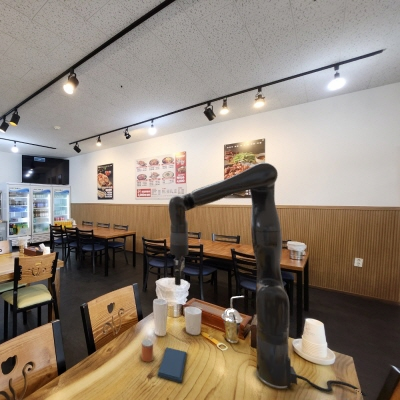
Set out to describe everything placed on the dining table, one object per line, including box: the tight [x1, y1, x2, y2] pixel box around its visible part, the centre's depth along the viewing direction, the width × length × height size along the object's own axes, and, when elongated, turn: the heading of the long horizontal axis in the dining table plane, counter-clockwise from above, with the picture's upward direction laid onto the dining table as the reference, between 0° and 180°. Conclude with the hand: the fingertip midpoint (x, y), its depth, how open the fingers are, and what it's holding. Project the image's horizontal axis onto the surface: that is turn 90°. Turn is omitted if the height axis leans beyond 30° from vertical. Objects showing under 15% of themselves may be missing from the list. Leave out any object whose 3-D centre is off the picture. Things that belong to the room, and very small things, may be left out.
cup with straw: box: [221, 295, 245, 344], centre depth 102 cm, size 8×9×20 cm
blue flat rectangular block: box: [157, 347, 187, 384], centre depth 86 cm, size 8×16×1 cm, turn 158°
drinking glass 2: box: [152, 298, 169, 337], centre depth 107 cm, size 7×7×15 cm
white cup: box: [184, 306, 203, 336], centre depth 109 cm, size 8×8×10 cm
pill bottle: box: [140, 338, 154, 363], centre depth 90 cm, size 5×5×6 cm
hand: (179, 281), depth 95 cm, fingers open, 8 cm apart
